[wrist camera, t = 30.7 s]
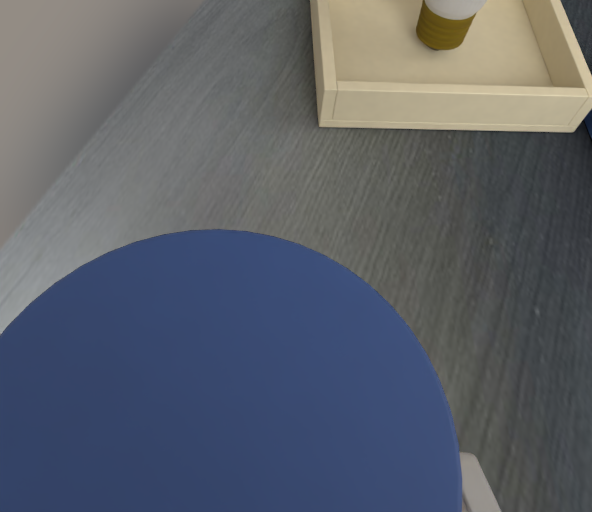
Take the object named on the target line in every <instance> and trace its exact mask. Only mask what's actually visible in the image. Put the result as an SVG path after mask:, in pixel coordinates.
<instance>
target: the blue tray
mask: <svg viewBox="0 0 592 512" xmlns="http://www.w3.org/2000/svg"><path fill="white" fill-rule="evenodd" d="M584 121H585V124H586V126H587V129H588V132H589V134H590V137H591V139H592V109H591V110H590V111H589V113H588V114H587V115H586V117H585V118H584Z"/></svg>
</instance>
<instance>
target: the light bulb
mask: <svg viewBox="0 0 592 512" xmlns="http://www.w3.org/2000/svg"><path fill="white" fill-rule="evenodd" d="M486 2H487V0H423V1H422V7H421V10H420V14H419V19H418V22H417V26H416V34H417V36H418V38H419V39H420V40H421V41H422V42H423V43H424V44H425V45H426V46H428V47H429V48H430V49H432V50H436V51H439V50H451V49H455V48H457V47H459V46H460V45H461V44H462V43H463V41H464V38H465V37H466V34H467V32H468V30H469V27H470V26H471V24H472V21H473V19H474V18H475V16H476V13H477V12H478V11H479V10H480V9H481V8H482V7H483V5H484V4H485V3H486Z"/></svg>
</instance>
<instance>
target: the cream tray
mask: <svg viewBox="0 0 592 512" xmlns="http://www.w3.org/2000/svg"><path fill="white" fill-rule="evenodd" d="M422 1H423V0H310V8H311V22H312V37H313V51H314V66H315V80H316V95H317V109H318V124H319V127H346V128H391V129H437V130H483V131H528V132H574V131H575V130H576V128H577V127H578V125H579V124H580V123H581V122H582V121H583V119H584V118H585V117H586V115H587V114H588V113H589V111H590V110H591V109H592V76H591V73H590V71H589V68H588V66H587V64H586V61H585V59H584V56H583V54H582V52H581V49H580V47H579V44H578V42H577V40H576V37H575V35H574V32H573V30H572V28H571V25H570V23H569V20H568V18H567V16H566V13H565V11H564V9H563V6H562V4H561V1H560V0H487V2H486V3H485V4H484V5H483V7H482V8H481V9H480V10H479V11H478V12H477V13H476V16H475V18H474V19H473V21H472V24H471V26H470V27H469V30H468V32H467V34H466V37H465V38H464V41H463V43H462V44H461V45H460V46H459V47H457V48H455V49H451V50H439V51H436V50H432V49H430V48H429V47H428V46H426V45H425V44H424V43H423V42H422V41H421V40H420V39H419V38H418V36H417V34H416V26H417V22H418V19H419V14H420V10H421V7H422Z"/></svg>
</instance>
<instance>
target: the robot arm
mask: <svg viewBox="0 0 592 512" xmlns="http://www.w3.org/2000/svg"><path fill="white" fill-rule="evenodd" d="M459 453H460V462H461V471H462V512H501V510H500V508H499V505H498V503H497V501H496V499H495V497H494V495H493V492H492V490H491V488H490V486H489V484H488V482H487V480H486V477H485V475H484V473H483V471H482V469H481V467H480V464H479V462H478V460H477V458H476V456H474V455H473V454H472V453H465V452H459Z"/></svg>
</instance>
